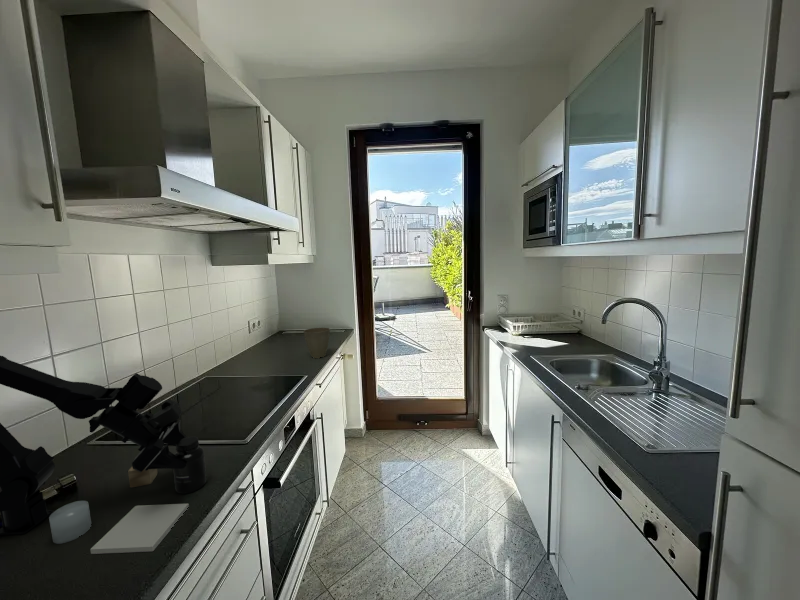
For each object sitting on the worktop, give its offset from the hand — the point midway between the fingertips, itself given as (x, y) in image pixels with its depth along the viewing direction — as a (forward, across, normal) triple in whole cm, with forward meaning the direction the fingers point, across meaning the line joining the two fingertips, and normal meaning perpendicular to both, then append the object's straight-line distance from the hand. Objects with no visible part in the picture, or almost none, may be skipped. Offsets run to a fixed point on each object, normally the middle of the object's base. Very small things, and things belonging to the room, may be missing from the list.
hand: (189, 456), depth 87 cm
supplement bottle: (+6, 0, +6) cm, 8 cm away
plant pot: (+38, +105, -26) cm, 115 cm away
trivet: (+1, -12, +10) cm, 16 cm away
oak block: (-3, +8, +14) cm, 17 cm away
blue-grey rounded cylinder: (-9, -7, +20) cm, 24 cm away
